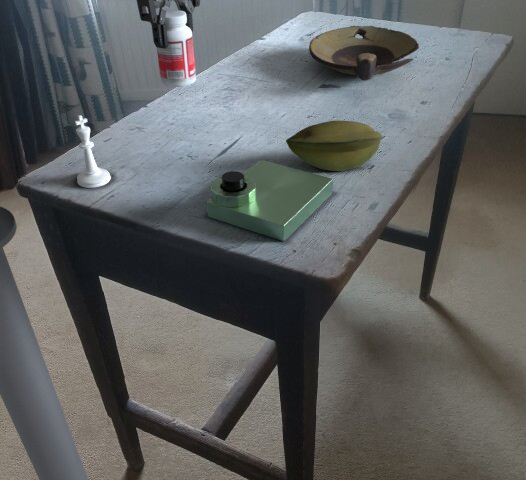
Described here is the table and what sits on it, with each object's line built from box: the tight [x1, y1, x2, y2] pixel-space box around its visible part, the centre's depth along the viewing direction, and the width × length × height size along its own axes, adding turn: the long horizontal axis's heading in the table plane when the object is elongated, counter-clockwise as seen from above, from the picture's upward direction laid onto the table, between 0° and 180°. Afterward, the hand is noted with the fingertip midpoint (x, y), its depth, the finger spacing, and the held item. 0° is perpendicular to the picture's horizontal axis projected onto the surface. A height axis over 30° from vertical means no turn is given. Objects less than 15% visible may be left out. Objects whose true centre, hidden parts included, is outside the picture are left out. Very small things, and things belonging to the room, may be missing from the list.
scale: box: [206, 159, 334, 242], centre depth 81 cm, size 14×12×4 cm
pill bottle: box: [156, 9, 197, 88], centre depth 99 cm, size 6×6×11 cm
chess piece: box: [74, 114, 112, 189], centre depth 85 cm, size 5×5×10 cm
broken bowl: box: [308, 25, 420, 82], centre depth 120 cm, size 22×30×8 cm
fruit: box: [285, 120, 384, 172], centre depth 89 cm, size 11×12×7 cm
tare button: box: [221, 170, 245, 192], centre depth 78 cm, size 3×3×2 cm
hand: (174, 41), depth 98 cm, fingers closed on pill bottle, 6 cm apart
